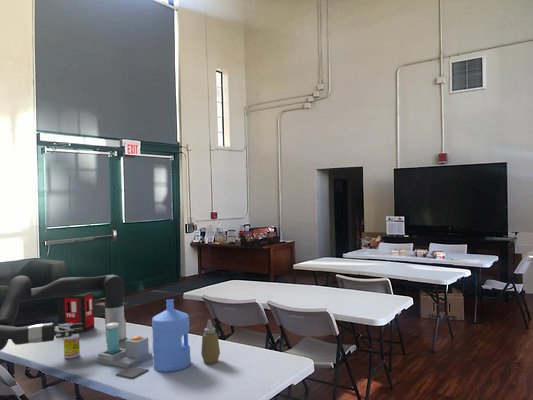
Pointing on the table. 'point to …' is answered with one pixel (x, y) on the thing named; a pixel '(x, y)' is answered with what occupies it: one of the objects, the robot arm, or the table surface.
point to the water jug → (170, 339)
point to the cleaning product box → (76, 310)
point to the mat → (132, 372)
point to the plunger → (136, 338)
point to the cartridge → (112, 338)
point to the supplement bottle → (71, 346)
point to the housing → (127, 354)
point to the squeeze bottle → (210, 345)
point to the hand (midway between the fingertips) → (83, 327)
